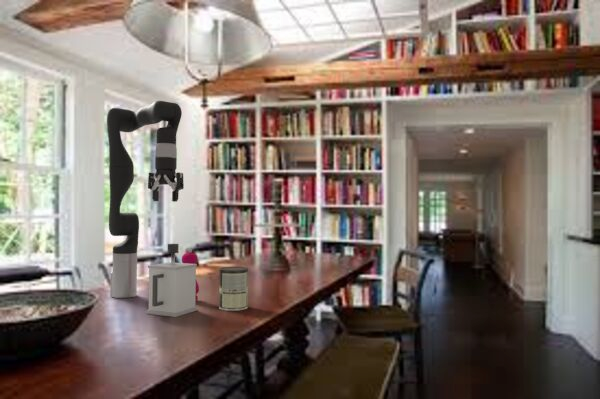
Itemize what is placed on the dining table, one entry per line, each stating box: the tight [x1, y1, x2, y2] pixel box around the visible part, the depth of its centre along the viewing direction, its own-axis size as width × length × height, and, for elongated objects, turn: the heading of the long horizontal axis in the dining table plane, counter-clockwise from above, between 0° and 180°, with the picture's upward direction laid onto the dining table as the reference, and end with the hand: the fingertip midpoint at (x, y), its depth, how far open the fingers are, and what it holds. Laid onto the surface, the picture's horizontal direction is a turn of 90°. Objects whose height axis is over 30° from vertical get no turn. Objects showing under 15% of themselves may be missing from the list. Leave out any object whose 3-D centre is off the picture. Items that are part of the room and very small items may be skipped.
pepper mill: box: [181, 248, 200, 303], centre depth 195 cm, size 7×7×20 cm
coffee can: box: [218, 266, 249, 312], centre depth 182 cm, size 10×10×14 cm
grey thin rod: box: [167, 243, 180, 265], centre depth 175 cm, size 9×9×22 cm
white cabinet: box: [146, 261, 198, 318], centre depth 173 cm, size 12×16×16 cm
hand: (165, 201), depth 187 cm, fingers open, 8 cm apart
